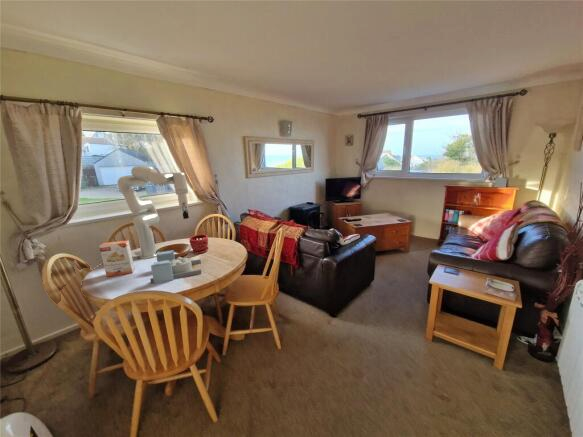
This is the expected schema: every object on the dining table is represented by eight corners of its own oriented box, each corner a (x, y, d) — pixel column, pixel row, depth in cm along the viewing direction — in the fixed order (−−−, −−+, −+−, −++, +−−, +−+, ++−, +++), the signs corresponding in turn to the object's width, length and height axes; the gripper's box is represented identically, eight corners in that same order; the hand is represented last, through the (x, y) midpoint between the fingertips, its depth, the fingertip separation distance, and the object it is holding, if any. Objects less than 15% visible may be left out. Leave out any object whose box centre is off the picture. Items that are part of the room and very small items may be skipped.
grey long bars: (150, 283, 137) (150, 279, 136) (155, 270, 153) (154, 266, 152) (201, 273, 147) (201, 270, 146) (200, 262, 163) (200, 259, 162)
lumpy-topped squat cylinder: (170, 270, 152) (168, 258, 150) (192, 266, 157) (190, 254, 155) (169, 277, 143) (167, 264, 141) (192, 273, 148) (190, 260, 146)
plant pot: (197, 247, 189) (195, 233, 186) (212, 248, 187) (210, 234, 183) (187, 254, 177) (185, 239, 174) (203, 255, 174) (201, 240, 171)
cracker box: (106, 277, 145) (98, 246, 139) (110, 273, 150) (102, 242, 145) (132, 273, 149) (125, 242, 144) (135, 269, 154) (128, 239, 149)
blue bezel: (154, 283, 136) (150, 265, 133) (159, 268, 155) (156, 252, 152) (173, 280, 140) (170, 262, 137) (175, 265, 158) (173, 250, 155)
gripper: (175, 191, 158) (180, 215, 162) (175, 193, 143) (179, 220, 147) (187, 189, 161) (191, 213, 165) (188, 192, 146) (192, 218, 150)
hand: (186, 217), depth 156 cm, fingers open, 9 cm apart
